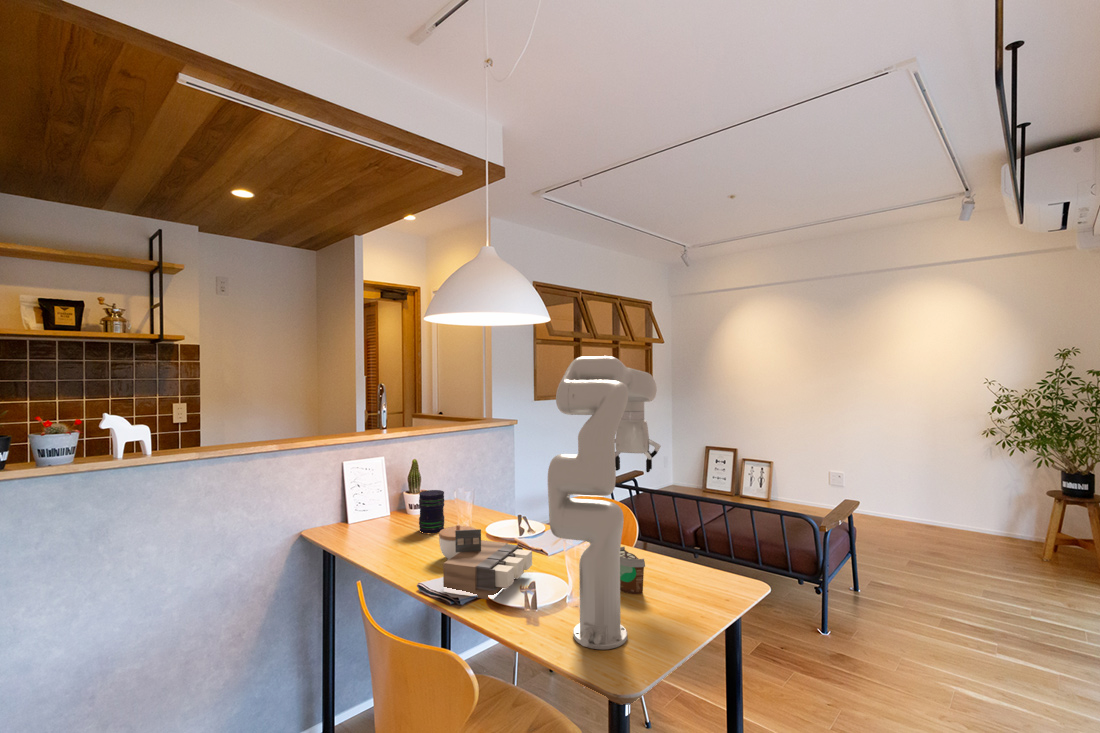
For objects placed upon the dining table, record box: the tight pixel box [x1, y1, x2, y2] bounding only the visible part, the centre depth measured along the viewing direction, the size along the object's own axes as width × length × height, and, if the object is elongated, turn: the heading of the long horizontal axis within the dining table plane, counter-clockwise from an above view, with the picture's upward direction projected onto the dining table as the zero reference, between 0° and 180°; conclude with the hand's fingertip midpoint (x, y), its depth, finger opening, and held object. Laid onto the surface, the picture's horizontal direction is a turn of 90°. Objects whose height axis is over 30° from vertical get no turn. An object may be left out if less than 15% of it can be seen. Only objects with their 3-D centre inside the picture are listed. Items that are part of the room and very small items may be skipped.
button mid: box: [503, 557, 524, 580], centre depth 153 cm, size 4×5×4 cm
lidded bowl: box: [438, 524, 477, 561], centre depth 176 cm, size 13×13×11 cm
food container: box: [620, 546, 646, 595], centre depth 150 cm, size 12×6×10 cm, turn 21°
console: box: [442, 528, 525, 600], centre depth 156 cm, size 22×17×15 cm
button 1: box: [493, 565, 515, 589], centre depth 146 cm, size 4×5×4 cm
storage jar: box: [418, 489, 445, 534], centre depth 208 cm, size 10×10×15 cm
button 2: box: [513, 549, 533, 571], centre depth 159 cm, size 4×5×4 cm
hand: (632, 470), depth 165 cm, fingers open, 9 cm apart
